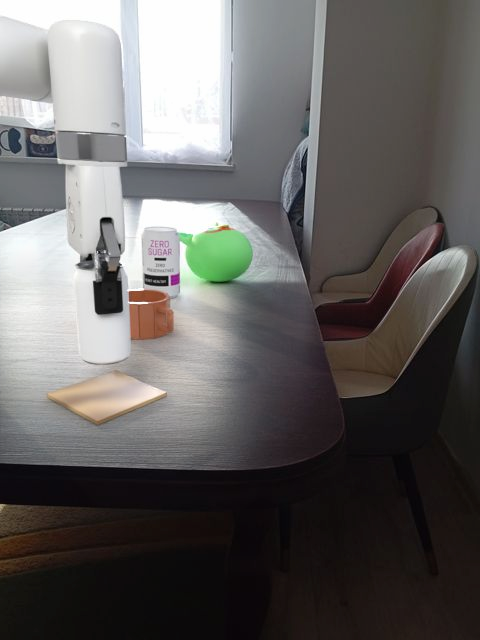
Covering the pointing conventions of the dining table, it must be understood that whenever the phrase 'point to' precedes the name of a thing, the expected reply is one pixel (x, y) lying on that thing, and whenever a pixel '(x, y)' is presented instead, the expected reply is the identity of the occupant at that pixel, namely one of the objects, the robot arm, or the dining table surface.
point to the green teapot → (217, 252)
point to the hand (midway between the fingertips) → (101, 303)
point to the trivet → (106, 396)
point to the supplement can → (161, 260)
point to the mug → (150, 314)
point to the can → (100, 321)
